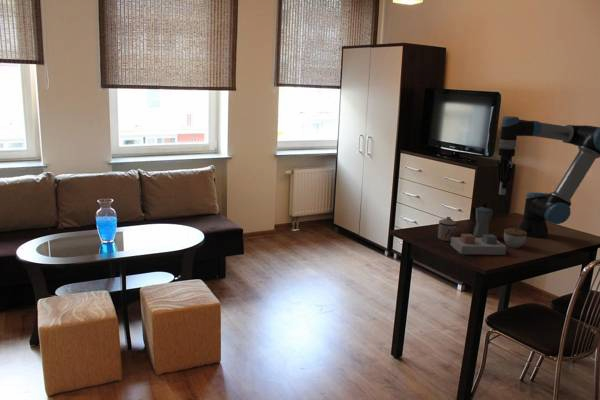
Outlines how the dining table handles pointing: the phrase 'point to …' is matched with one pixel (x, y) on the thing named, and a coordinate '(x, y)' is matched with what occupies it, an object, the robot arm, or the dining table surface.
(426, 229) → the dining table surface
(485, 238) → the grey key
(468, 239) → the terracotta key
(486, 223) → the coffee maker
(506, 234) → the lidded jar
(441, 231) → the teacup with lid
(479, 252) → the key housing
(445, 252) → the dining table surface
